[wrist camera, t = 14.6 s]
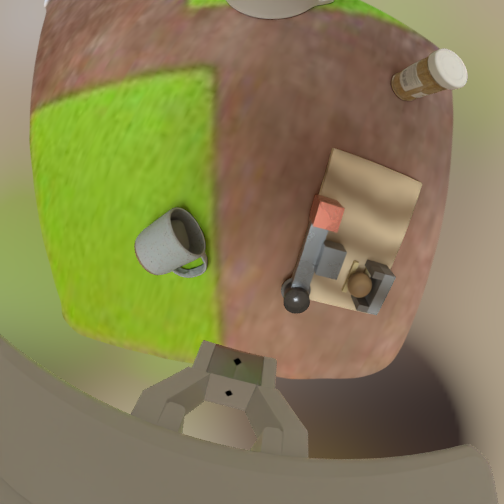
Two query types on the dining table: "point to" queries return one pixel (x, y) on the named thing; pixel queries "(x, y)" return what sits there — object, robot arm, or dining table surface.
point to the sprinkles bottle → (430, 76)
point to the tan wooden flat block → (364, 228)
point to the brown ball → (359, 284)
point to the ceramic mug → (172, 244)
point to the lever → (316, 253)
